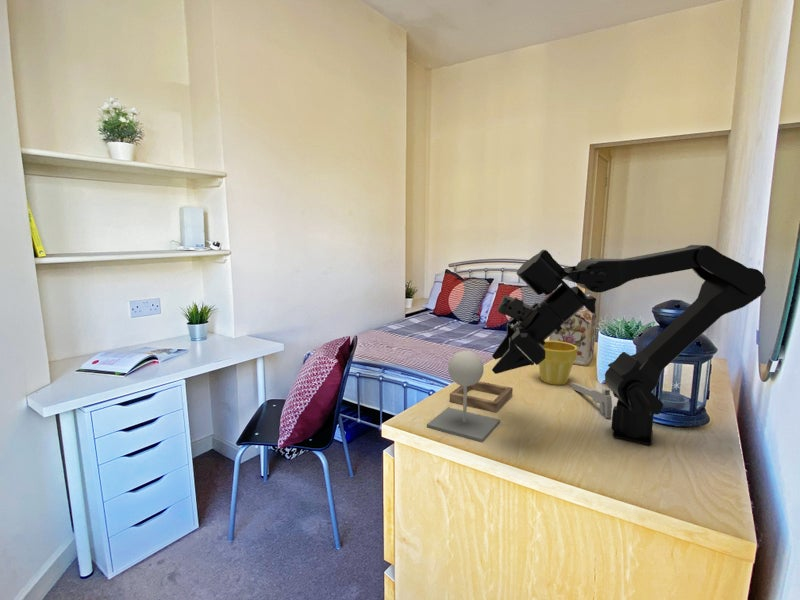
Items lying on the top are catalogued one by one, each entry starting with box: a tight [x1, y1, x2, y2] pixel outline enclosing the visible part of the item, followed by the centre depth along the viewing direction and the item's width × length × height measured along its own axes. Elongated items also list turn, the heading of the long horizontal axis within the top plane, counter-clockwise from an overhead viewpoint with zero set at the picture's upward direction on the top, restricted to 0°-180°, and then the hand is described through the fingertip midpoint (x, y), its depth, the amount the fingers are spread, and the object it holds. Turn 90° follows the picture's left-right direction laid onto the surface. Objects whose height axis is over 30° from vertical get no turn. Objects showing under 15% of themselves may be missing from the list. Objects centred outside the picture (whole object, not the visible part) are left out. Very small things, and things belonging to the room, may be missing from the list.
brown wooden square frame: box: [449, 380, 514, 413], centre depth 101 cm, size 11×11×2 cm
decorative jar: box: [548, 306, 597, 367], centre depth 131 cm, size 12×12×18 cm
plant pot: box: [538, 340, 577, 386], centre depth 112 cm, size 10×10×10 cm
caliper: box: [568, 382, 613, 419], centre depth 99 cm, size 20×1×6 cm, turn 0°
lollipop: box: [447, 350, 485, 422], centre depth 86 cm, size 7×7×15 cm
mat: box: [426, 407, 501, 443], centre depth 87 cm, size 12×10×1 cm
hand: (493, 364), depth 84 cm, fingers open, 9 cm apart
